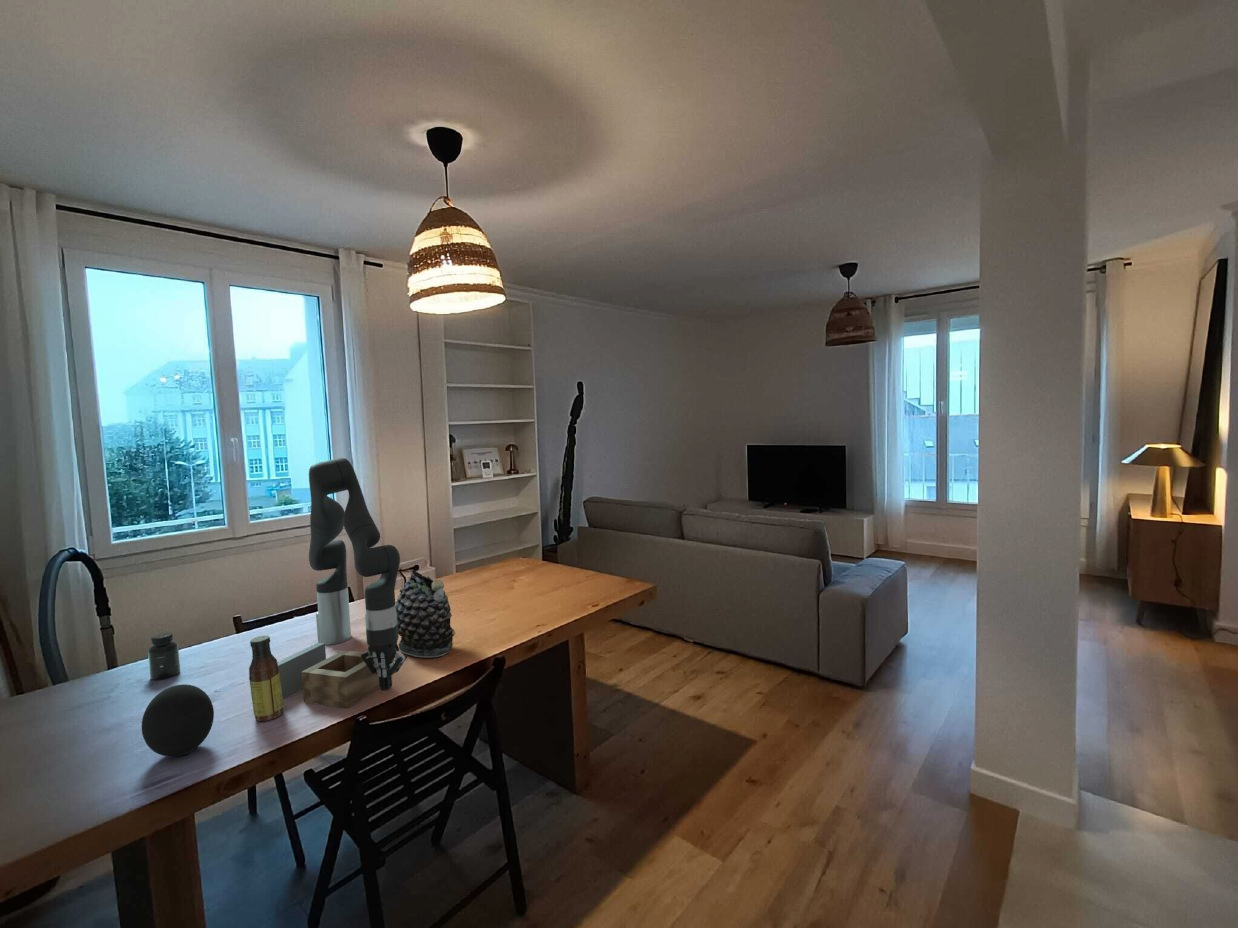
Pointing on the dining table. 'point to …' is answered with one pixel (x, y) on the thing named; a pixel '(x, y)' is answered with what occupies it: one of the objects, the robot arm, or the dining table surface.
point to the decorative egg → (177, 720)
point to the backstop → (299, 667)
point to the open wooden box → (339, 680)
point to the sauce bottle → (265, 681)
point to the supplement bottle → (163, 657)
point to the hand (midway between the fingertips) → (386, 689)
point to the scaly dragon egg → (424, 617)
